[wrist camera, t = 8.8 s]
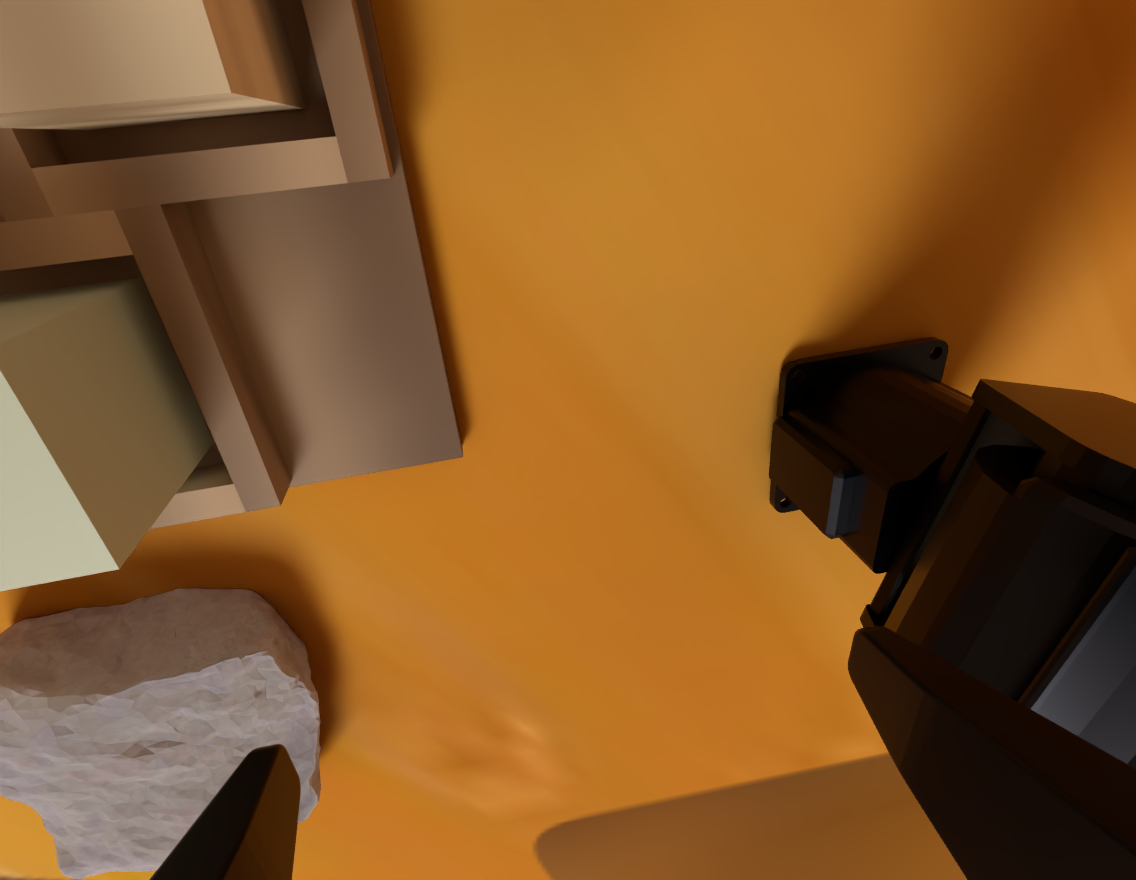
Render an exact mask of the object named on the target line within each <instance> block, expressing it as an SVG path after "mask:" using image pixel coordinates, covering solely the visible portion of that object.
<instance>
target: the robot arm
mask: <svg viewBox="0 0 1136 880" xmlns="http://www.w3.org/2000/svg"><path fill="white" fill-rule="evenodd" d="M933 349H934V351H933V352H932V353H931V351H932V350H933ZM930 353H931V354H930ZM947 353H948V345H947V343H946V342H945V341H943V340H940V339H938V338H935V337H929V338H923V339H917V340H911V341H905V342H899V343H893V344H887V345H881V346H875V347H869V348H863V349H857V350H851V351H845V352H839V353H833V354H827V355H821V356H815V357H809V358H803V359H797V360H793V361H790V362H788V363H787V364H786V365H785V366H784V367H783V369H782V370H781V374H780V384H779V395H778V407H777V418H776V419H775V421H774V423H773V431H772V443H771V455H770V467H769V478H770V479H771V489H770V504H771V505H772V506H773V507H774V508H775V509H776V510H777V511H778V512H780V513H785V512H790V511H795V510H801V511H802V512H803V513H804V514H805V515H806V516H807V517H808V518H809V519H810V520H811V521H812V522H813V523H814V524H815V525H816V526H817V527H818V529H819V530H820V531H821V532H822V533H823V534H825V535H826V536H827V537H829V538H830V539H834V538H840V539H841V540H842V541H843V542H844V543H845V544H846V545H847V546H848V547H849V548H850V549H851V550H852V551H853V552H854V553H855V554H856V555H857V556H858V557H859V558H860V559H861V560H862V561H863V562H864V563H865V564H866V565H867V566H868V567H869V568H870V569H871V570H872V571H873V572H874V573H876V574H880V573H884V572H887V573H886V575H885V577H884V579H883V581H882V583H881V585H880V587H879V589H878V590H877V592H876V594H875V596H874V598H873V600H872V602H871V604H868V605H866V607H865V609H864V611H863V613H862V615H861V617H860V621H861V623H862V625H863V628H861V629H858V630H857V631H856V632H855V634H854V638H853V642H852V647H851V651H850V655H849V660H848V670H849V674H850V677H851V679H852V682H853V684H854V685H855V687H856V689H857V691H858V693H859V695H860V697H861V699H862V701H863V703H864V705H865V707H866V709H867V711H868V713H869V715H870V717H871V719H872V721H873V723H874V725H875V726H876V728H877V730H878V732H879V734H880V736H881V738H882V740H883V742H884V744H885V746H886V748H887V750H888V752H889V754H890V756H891V757H892V759H893V761H894V763H895V765H896V767H897V768H898V770H899V772H900V774H901V775H902V777H903V779H904V780H905V782H906V784H907V785H908V787H909V788H910V790H911V791H912V793H913V795H914V796H915V798H916V799H917V801H918V803H919V804H920V806H921V807H922V809H923V810H924V812H925V814H926V815H927V817H928V818H929V820H930V821H931V823H932V825H933V826H934V828H935V829H936V831H937V833H938V834H939V835H940V837H941V839H942V840H943V842H944V844H945V845H946V847H947V848H948V850H949V851H950V853H951V855H952V856H953V858H954V859H955V861H956V862H957V864H958V866H959V867H960V869H961V870H962V872H963V873H964V875H965V877H966V878H967V880H1136V403H1133V402H1130V401H1126V400H1123V399H1120V398H1117V397H1114V396H1111V395H1108V394H1104V393H1098V392H1089V391H1081V390H1072V389H1063V388H1055V387H1046V386H1038V385H1029V384H1021V383H1012V382H1004V381H995V380H987V379H980V381H979V383H978V385H977V387H976V389H975V391H974V393H973V395H972V397H970V396H968V395H966V394H964V393H962V392H960V391H958V390H956V389H954V388H952V387H950V386H948V385H946V384H944V383H942V382H941V380H942V375H943V371H944V367H945V362H946V358H947ZM798 370H799V371H800V372H799V375H798V376H797V377H796V378H794V379H792V377H793V374H794V373H795V372H796V371H798ZM783 498H786V499H785V500H784V501H782V502H781V500H782V499H783ZM300 795H301V784H300V778H299V775H298V773H297V771H296V769H295V766H294V764H293V762H292V760H291V758H290V756H289V754H288V752H287V749H286V748H285V746H283V745H282V744H274V745H269V746H264V747H259V748H256V749H253V750H252V751H251V752H249V753H248V754H247V756H246V757H245V758H244V759H243V761H242V762H241V763H240V764H239V766H238V767H237V768H236V770H235V771H234V772H233V773H232V775H231V776H230V777H229V778H228V780H227V781H226V782H225V784H224V785H223V786H222V787H221V789H220V790H219V791H218V793H217V794H216V795H215V796H214V798H213V799H212V800H211V802H210V803H209V804H208V805H207V807H206V808H205V809H204V811H203V812H202V813H201V814H200V816H199V817H198V818H197V819H196V821H195V822H194V823H193V825H192V826H191V827H190V828H189V830H188V831H187V832H186V834H185V835H184V836H183V837H182V839H181V840H180V841H179V843H178V844H177V845H176V846H175V848H174V849H173V850H172V851H171V853H170V854H169V855H168V857H167V858H166V859H165V860H164V862H163V863H162V864H161V866H160V867H159V868H158V869H157V871H156V872H155V873H154V875H153V876H152V877H151V878H150V880H292V872H293V862H294V853H295V843H296V834H297V824H298V815H299V805H300Z"/></svg>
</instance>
